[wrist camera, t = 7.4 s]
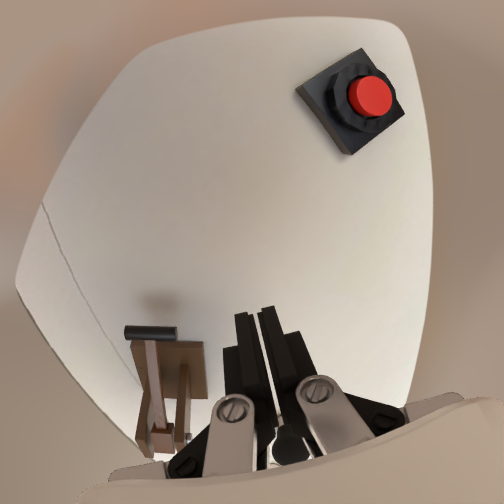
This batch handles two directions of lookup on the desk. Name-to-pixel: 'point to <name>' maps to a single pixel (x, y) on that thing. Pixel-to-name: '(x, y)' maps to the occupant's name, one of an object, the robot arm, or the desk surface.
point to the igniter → (347, 102)
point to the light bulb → (288, 446)
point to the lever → (156, 381)
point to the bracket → (171, 388)
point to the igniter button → (370, 96)
